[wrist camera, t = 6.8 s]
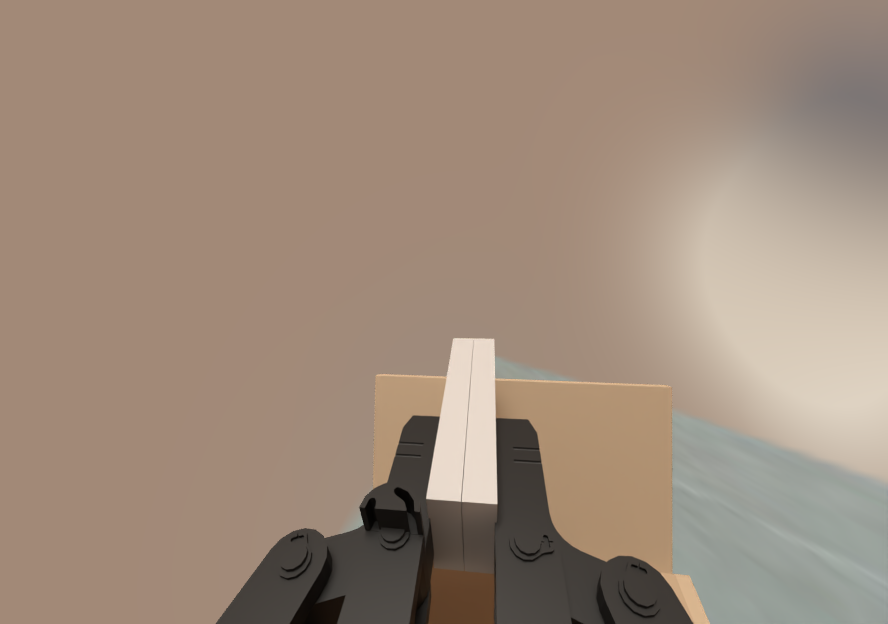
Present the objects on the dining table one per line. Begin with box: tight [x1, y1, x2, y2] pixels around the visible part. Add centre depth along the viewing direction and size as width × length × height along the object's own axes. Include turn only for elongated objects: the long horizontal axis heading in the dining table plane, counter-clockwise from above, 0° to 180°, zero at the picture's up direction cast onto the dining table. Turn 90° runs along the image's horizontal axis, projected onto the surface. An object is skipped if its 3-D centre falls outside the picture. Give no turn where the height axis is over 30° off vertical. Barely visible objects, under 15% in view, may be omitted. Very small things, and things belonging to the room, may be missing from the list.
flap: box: [373, 374, 672, 574], centre depth 15 cm, size 7×12×1 cm
